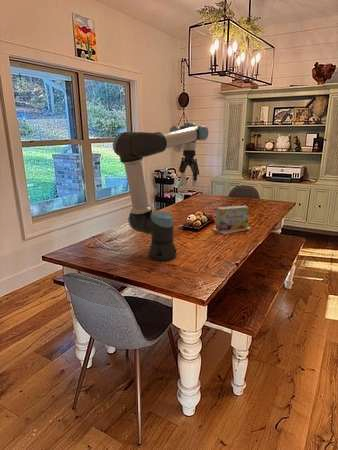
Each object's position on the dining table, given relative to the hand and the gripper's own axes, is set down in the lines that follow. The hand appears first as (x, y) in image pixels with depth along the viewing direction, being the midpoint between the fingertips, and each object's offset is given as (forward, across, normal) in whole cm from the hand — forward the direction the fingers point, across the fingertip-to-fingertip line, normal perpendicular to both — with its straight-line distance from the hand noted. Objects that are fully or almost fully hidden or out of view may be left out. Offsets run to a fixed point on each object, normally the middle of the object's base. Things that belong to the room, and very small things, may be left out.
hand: (188, 184), depth 198 cm
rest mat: (+31, -8, -31) cm, 45 cm away
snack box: (+31, -8, -31) cm, 44 cm away
